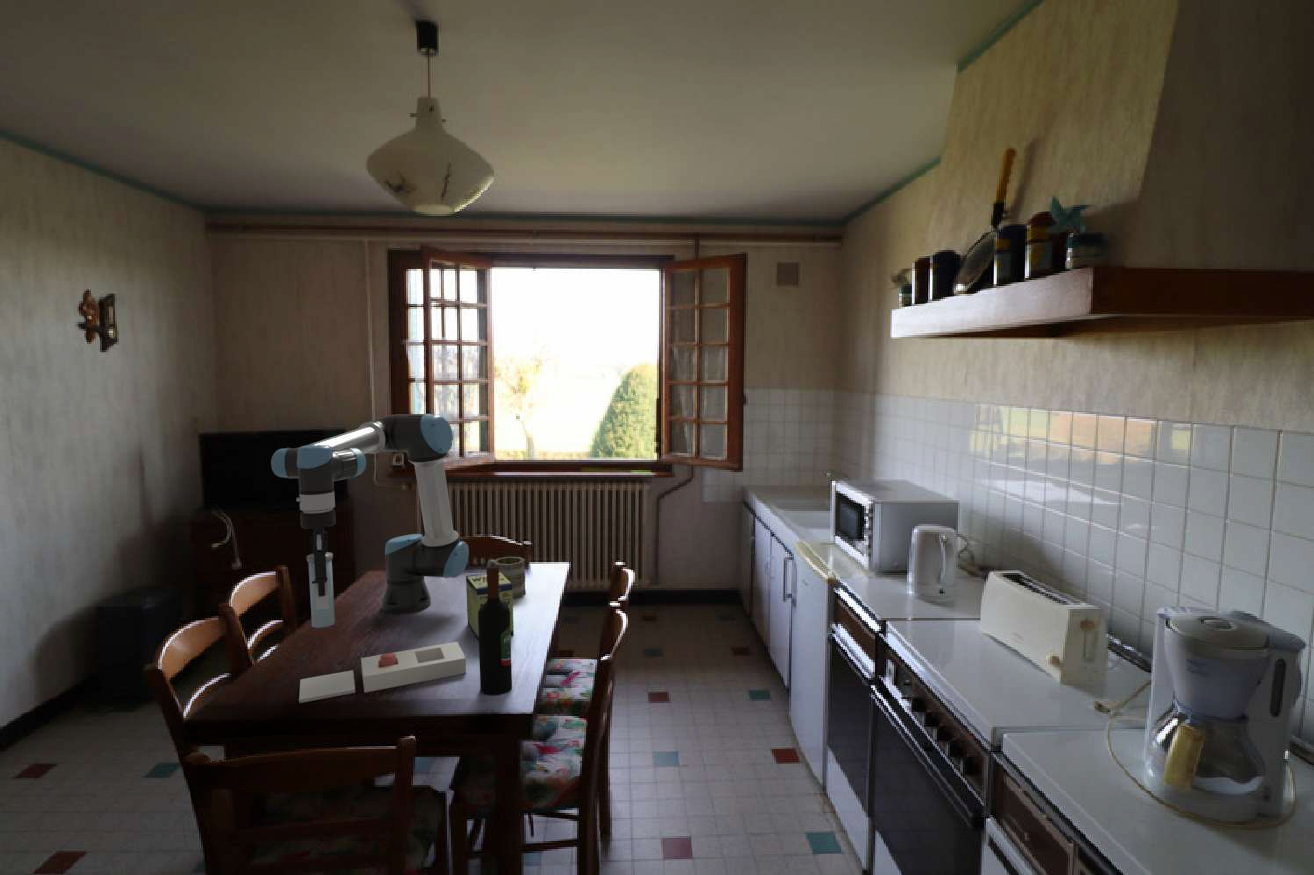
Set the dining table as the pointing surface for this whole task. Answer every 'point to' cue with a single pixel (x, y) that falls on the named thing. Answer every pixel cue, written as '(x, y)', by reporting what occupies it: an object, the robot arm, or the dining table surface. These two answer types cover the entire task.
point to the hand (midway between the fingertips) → (322, 604)
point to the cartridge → (322, 615)
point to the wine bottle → (494, 640)
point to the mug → (512, 573)
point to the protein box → (485, 598)
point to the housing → (413, 666)
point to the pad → (326, 686)
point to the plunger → (388, 659)
